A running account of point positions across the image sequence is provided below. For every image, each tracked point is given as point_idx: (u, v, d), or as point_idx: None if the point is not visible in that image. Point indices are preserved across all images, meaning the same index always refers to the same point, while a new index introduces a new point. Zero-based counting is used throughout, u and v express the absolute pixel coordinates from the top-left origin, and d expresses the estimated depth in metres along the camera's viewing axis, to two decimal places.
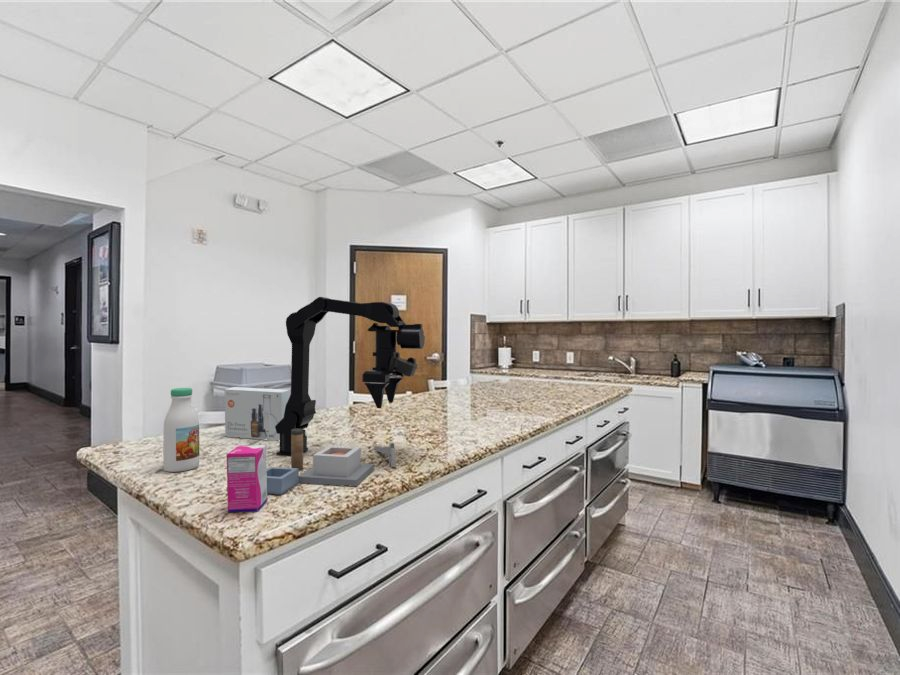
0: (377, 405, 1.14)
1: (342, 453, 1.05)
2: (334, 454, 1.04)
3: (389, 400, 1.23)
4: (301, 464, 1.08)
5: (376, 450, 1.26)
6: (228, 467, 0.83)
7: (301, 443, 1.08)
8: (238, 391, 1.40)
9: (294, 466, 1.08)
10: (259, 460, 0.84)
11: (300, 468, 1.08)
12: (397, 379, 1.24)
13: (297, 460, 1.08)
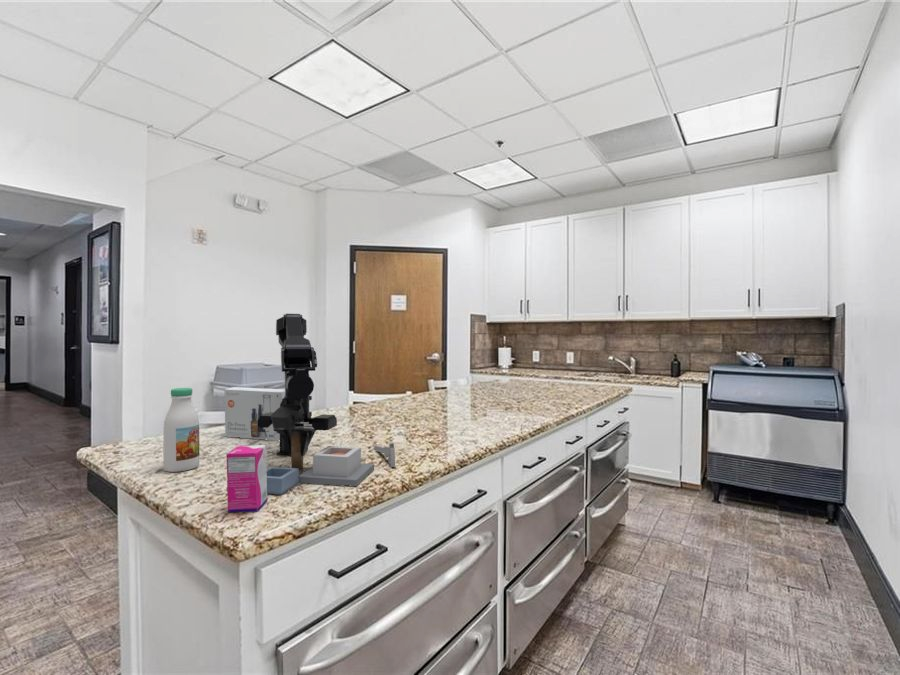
0: None
1: (342, 453, 1.05)
2: (334, 454, 1.04)
3: None
4: (301, 464, 1.08)
5: (376, 450, 1.26)
6: (228, 467, 0.83)
7: None
8: (238, 391, 1.40)
9: (294, 466, 1.08)
10: (259, 460, 0.84)
11: (300, 468, 1.08)
12: None
13: (297, 460, 1.08)
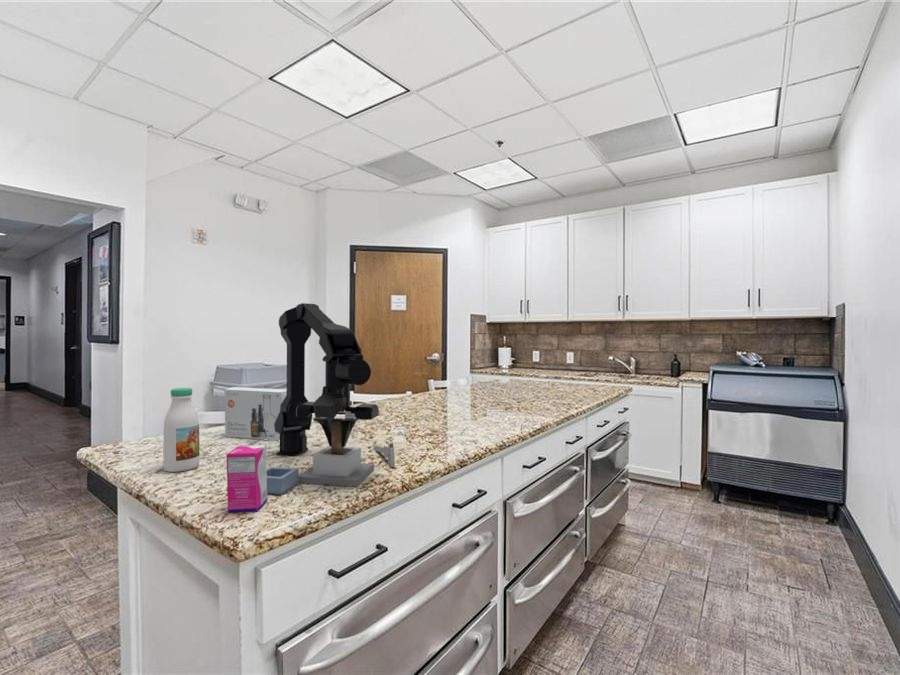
0: None
1: None
2: None
3: None
4: None
5: (376, 450, 1.26)
6: (228, 467, 0.83)
7: None
8: (238, 391, 1.40)
9: None
10: (259, 460, 0.84)
11: None
12: None
13: (338, 451, 1.03)
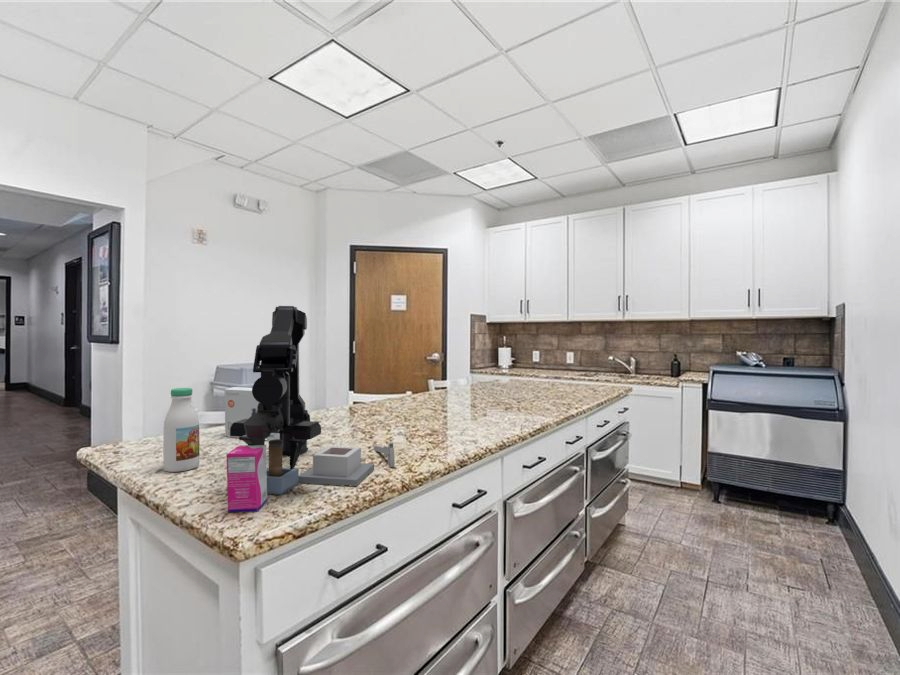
0: None
1: None
2: None
3: None
4: None
5: (376, 450, 1.26)
6: (228, 467, 0.83)
7: (280, 456, 0.95)
8: (238, 391, 1.40)
9: None
10: (259, 460, 0.84)
11: None
12: None
13: (275, 476, 0.94)
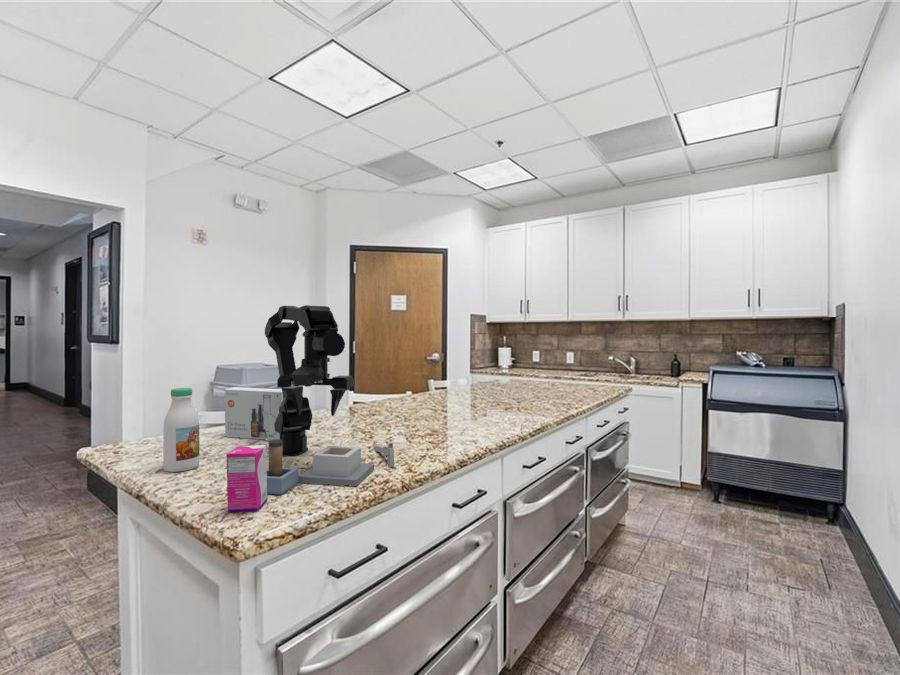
0: None
1: None
2: None
3: None
4: None
5: (375, 450, 1.26)
6: (228, 467, 0.83)
7: (280, 456, 0.95)
8: (238, 391, 1.40)
9: None
10: (259, 460, 0.84)
11: None
12: None
13: (275, 476, 0.94)
